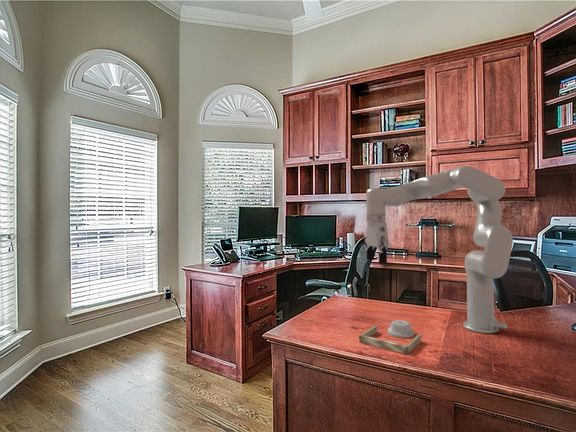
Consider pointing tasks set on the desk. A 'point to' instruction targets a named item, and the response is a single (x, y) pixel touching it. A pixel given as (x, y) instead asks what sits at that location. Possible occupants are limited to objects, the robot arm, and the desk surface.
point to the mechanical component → (400, 329)
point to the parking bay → (388, 345)
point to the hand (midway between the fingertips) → (376, 261)
